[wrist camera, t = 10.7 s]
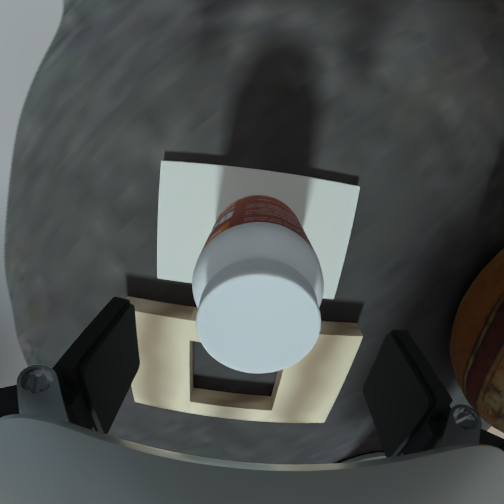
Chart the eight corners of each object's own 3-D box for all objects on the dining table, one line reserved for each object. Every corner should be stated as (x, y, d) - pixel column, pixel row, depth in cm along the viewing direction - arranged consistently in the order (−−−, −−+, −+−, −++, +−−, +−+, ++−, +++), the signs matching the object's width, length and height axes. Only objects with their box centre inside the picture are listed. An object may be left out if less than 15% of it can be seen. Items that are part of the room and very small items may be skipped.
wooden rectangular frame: (356, 323, 24) (363, 336, 22) (321, 409, 28) (324, 422, 26) (127, 296, 23) (118, 307, 22) (140, 388, 28) (135, 401, 26)
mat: (357, 185, 20) (360, 186, 19) (332, 295, 23) (333, 299, 22) (163, 160, 19) (161, 160, 19) (159, 275, 23) (157, 278, 22)
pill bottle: (223, 184, 19) (185, 230, 9) (310, 204, 20) (366, 269, 9) (207, 266, 22) (169, 370, 11) (288, 283, 22) (310, 394, 12)
